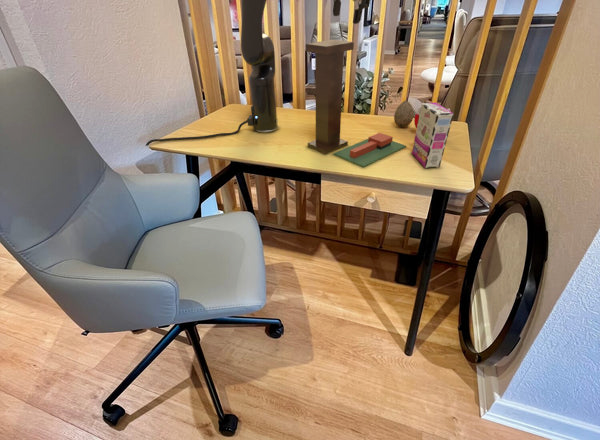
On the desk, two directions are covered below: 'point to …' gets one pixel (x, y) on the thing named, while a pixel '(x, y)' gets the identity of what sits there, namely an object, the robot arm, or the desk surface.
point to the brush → (372, 145)
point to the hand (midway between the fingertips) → (345, 19)
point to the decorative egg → (404, 114)
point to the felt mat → (369, 153)
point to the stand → (328, 93)
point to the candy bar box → (431, 134)
